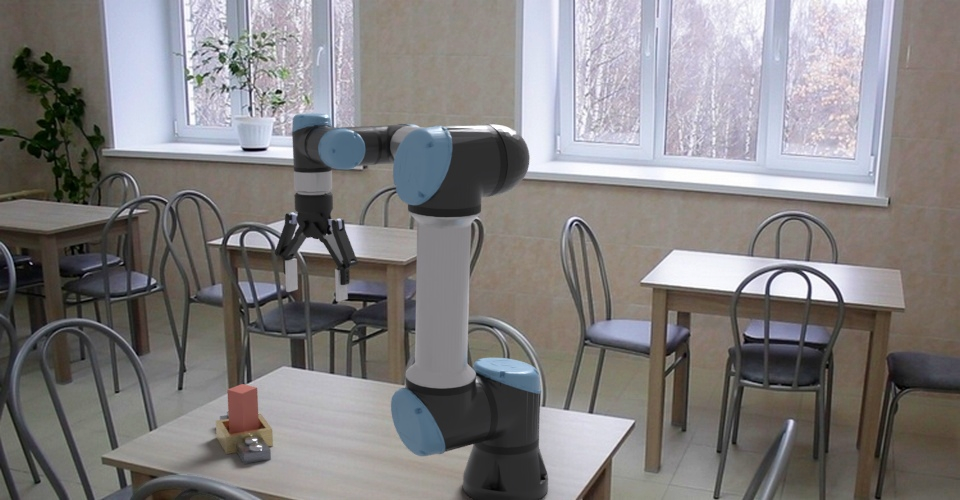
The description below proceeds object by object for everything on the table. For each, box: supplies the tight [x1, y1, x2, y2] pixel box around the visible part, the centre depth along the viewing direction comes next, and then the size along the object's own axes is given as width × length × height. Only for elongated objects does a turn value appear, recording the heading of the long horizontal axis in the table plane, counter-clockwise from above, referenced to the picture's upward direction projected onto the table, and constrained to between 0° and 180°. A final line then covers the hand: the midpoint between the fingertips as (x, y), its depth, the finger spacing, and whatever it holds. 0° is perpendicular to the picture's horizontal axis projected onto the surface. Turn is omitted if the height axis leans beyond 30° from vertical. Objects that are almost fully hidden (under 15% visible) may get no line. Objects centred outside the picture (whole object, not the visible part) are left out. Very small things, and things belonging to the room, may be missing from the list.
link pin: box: [227, 383, 259, 434], centre depth 192 cm, size 4×4×11 cm
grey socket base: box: [215, 411, 274, 465], centre depth 193 cm, size 21×9×4 cm, turn 27°
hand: (316, 295), depth 200 cm, fingers open, 13 cm apart
